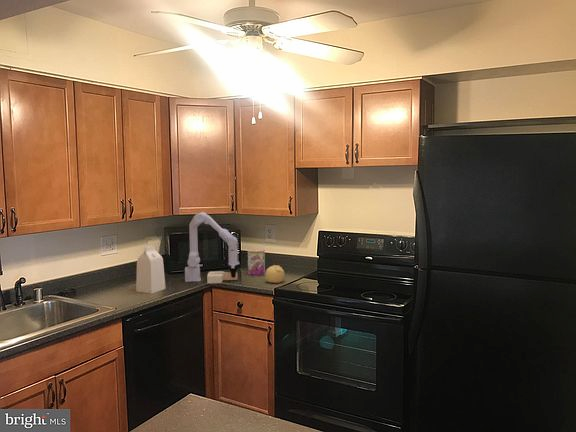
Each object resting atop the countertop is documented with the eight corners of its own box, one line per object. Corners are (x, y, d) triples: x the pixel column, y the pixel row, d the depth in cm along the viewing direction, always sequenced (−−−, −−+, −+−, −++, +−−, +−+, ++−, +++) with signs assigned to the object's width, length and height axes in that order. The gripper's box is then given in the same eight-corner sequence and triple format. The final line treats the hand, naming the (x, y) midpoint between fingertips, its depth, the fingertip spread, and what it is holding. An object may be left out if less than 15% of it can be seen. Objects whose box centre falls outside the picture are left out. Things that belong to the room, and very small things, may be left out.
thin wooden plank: (215, 280, 297) (215, 272, 296) (215, 280, 298) (215, 272, 297) (237, 279, 298) (237, 272, 298) (237, 279, 299) (237, 271, 298)
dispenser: (207, 283, 290) (207, 276, 290) (209, 278, 304) (208, 271, 303) (223, 283, 291) (222, 275, 290) (223, 278, 305) (223, 271, 304)
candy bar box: (247, 275, 313) (247, 251, 311) (248, 273, 318) (248, 249, 316) (264, 275, 312) (263, 251, 310) (265, 273, 317) (264, 249, 315)
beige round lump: (285, 283, 287) (285, 266, 286) (266, 284, 285) (265, 267, 284) (283, 279, 298) (283, 263, 297) (264, 280, 297) (264, 263, 296)
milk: (150, 286, 283) (148, 244, 281) (165, 288, 278) (163, 245, 276) (136, 291, 272) (134, 247, 270) (151, 293, 267) (149, 248, 265)
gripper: (239, 258, 290) (239, 279, 291) (239, 254, 304) (239, 274, 306) (227, 258, 289) (228, 279, 291) (228, 254, 304) (229, 274, 305)
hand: (233, 277), depth 298 cm, fingers closed, pressing on thin wooden plank
